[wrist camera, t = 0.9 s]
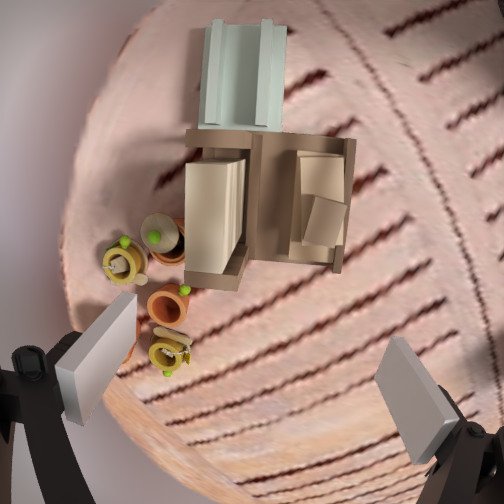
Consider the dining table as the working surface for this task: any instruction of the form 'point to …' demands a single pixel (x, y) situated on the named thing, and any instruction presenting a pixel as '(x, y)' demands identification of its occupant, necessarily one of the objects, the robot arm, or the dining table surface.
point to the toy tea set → (163, 300)
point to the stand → (243, 76)
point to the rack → (283, 199)
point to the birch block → (213, 212)
